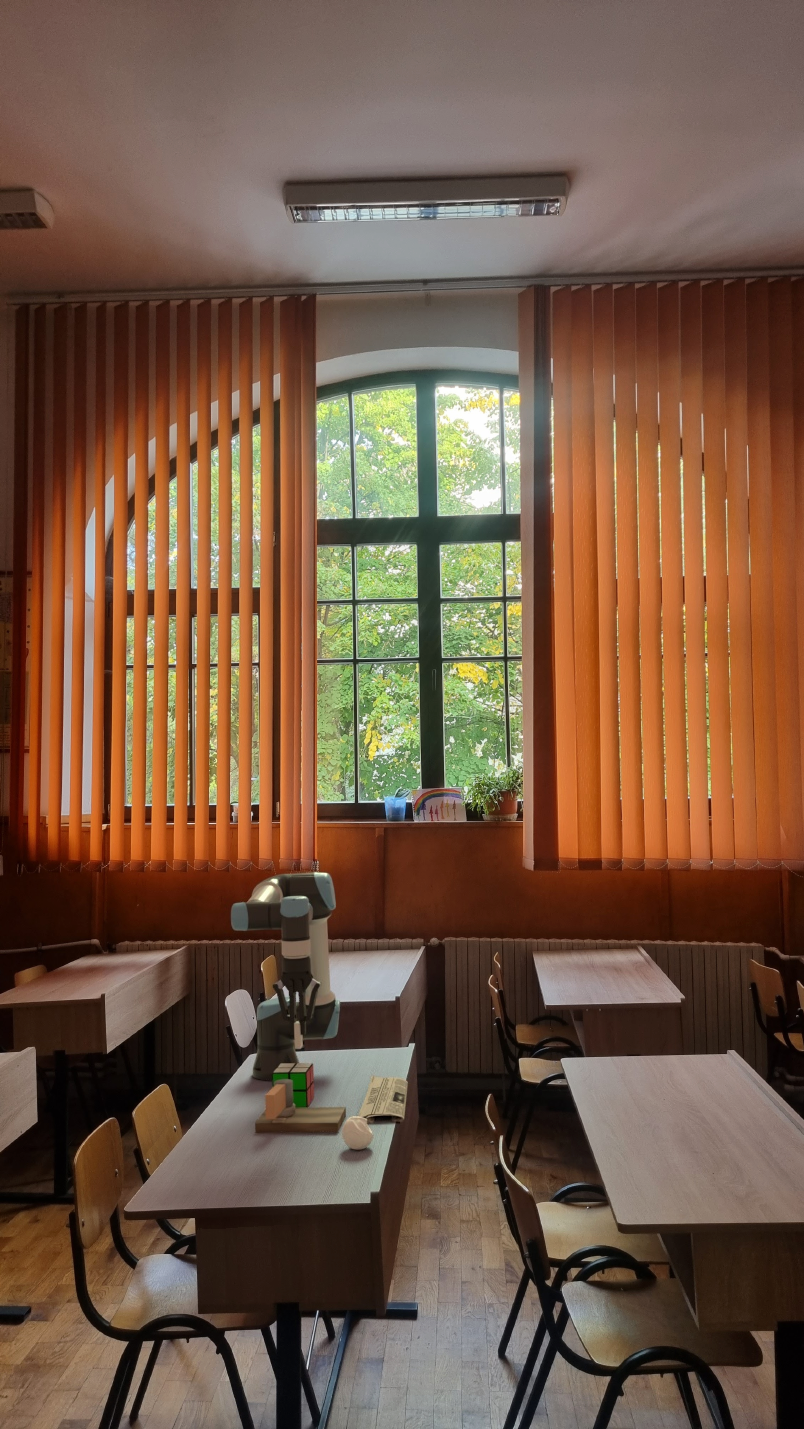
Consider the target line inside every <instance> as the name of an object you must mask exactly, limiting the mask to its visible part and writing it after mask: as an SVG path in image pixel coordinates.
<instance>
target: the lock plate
mask: <svg viewBox="0 0 804 1429" xmlns="http://www.w3.org/2000/svg"><path fill="white" fill-rule="evenodd" d="M346 1108H347V1107H346V1106H328V1107H327V1106H319V1107H318V1106H316V1107H315V1106H313V1107H312V1106H311V1107H309V1106H308V1107H295V1104H294V1103H293V1105H292V1106H289V1107H286V1108H285V1109H284V1110H283V1111H282V1112H281V1113H280V1114H279V1115H278V1116H277V1117H276V1118H275V1119H266V1108H264V1111H263V1112H262V1114H261V1115H260V1116H259V1117H258V1119H257V1120H256V1121H255V1122H254V1133H255V1134H264V1133H268V1134H272V1133H273V1134H275V1133H276V1134H278V1133H279V1134H280V1133H281V1134H282V1133H283V1134H287V1133H289V1134H290V1133H297V1134H299V1133H300V1134H301V1133H307V1134H308V1133H339V1132H340V1129H341V1127H342V1126H343V1124H344V1122H345V1118H346V1117H347V1112H346V1111H347V1110H346Z"/></svg>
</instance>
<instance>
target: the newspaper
mask: <svg viewBox="0 0 804 1429" xmlns="http://www.w3.org/2000/svg"><path fill="white" fill-rule="evenodd" d="M408 1084H409V1082H408V1081H407V1080H406V1079H404V1078H402V1077H396V1076H395V1077H394V1076H393V1077H392V1076H391V1077H389V1076H388V1077H380V1076H376V1075H373V1074H371V1077H370V1081H369V1084H368V1087H367V1090H366V1091H367V1092H366V1094H365V1098H364V1101H363V1102H362V1105H361V1108H360V1110H359V1112H358V1117H363V1118H365V1119H367V1124H371V1123H375V1117H378V1116H391V1122H404V1120H405V1113H406V1102H407V1094H408V1086H409V1085H408Z"/></svg>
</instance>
